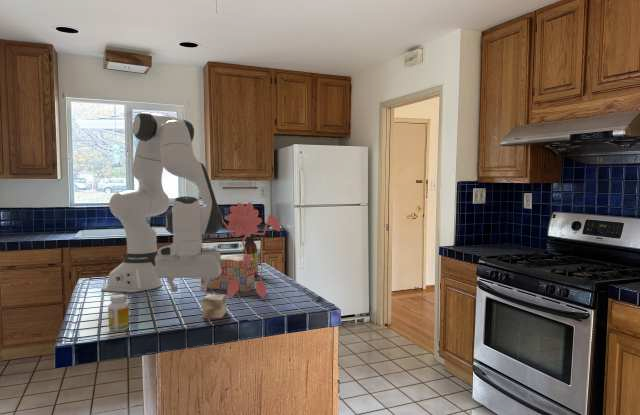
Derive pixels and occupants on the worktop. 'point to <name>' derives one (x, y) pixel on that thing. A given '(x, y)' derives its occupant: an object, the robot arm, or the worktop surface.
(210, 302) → the maple cube
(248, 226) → the coral stemmed figure
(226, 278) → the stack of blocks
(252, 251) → the sauce bottle
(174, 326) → the worktop surface
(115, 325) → the supplement bottle
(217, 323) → the worktop surface
